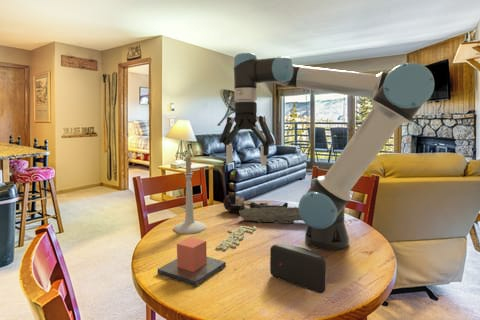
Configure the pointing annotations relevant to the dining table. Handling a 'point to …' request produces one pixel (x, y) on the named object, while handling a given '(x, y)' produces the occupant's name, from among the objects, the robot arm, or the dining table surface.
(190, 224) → the candlestick
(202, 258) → the salmon pink cube
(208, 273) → the gray slab
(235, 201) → the figurine
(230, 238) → the decorative sign
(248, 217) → the stone fragment
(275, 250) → the leaning round-cornered charcoal block
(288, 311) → the dining table surface
